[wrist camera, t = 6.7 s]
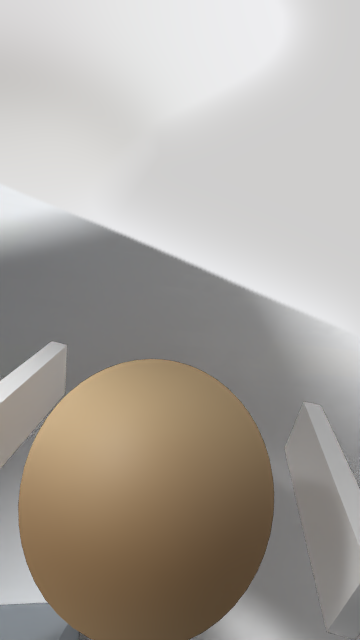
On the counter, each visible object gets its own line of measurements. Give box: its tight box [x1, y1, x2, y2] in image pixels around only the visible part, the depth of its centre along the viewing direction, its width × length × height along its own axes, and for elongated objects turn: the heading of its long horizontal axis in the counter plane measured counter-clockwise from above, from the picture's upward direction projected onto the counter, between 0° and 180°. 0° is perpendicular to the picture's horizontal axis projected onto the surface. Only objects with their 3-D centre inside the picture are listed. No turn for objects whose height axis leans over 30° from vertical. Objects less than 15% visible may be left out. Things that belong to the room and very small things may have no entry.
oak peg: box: [18, 359, 274, 640], centre depth 12 cm, size 5×5×12 cm
